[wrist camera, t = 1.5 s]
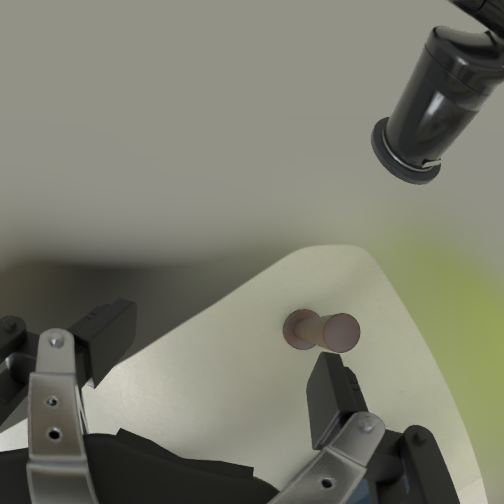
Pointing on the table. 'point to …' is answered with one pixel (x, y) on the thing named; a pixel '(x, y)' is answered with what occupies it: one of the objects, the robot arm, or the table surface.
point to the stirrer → (321, 331)
